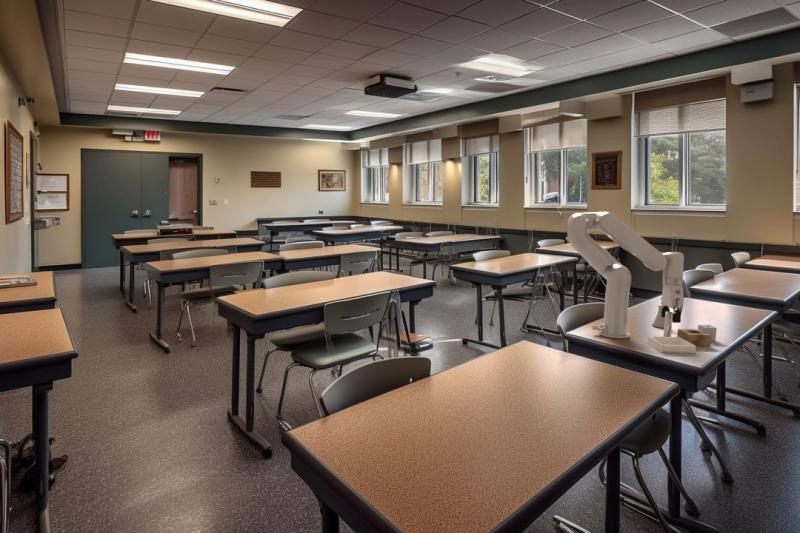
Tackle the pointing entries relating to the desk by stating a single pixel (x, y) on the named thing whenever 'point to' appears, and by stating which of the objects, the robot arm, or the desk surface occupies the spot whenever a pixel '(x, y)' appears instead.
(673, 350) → the tray
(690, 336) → the block
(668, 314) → the pin gauge
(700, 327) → the block
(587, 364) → the desk surface
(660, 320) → the flask
